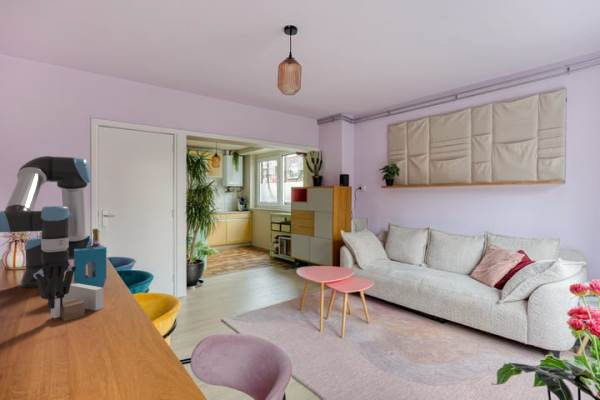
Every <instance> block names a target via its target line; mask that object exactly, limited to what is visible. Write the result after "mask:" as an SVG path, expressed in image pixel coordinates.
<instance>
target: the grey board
mask: <svg viewBox="0 0 600 400" xmlns="http://www.w3.org/2000/svg"><path fill="white" fill-rule="evenodd" d="M73 298H78V299H80V300H82V301H84V302H85V310H90V311H95V312H96V311H99V310H101V309H104V287H103V288H101V287H96V286H90V285H85V284H79V283H74V281H73V282H72V281H71V285H70V289H69V293H68V294H65V295H64V297H63V298H62V301H64V300H68V299H73Z"/></svg>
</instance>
